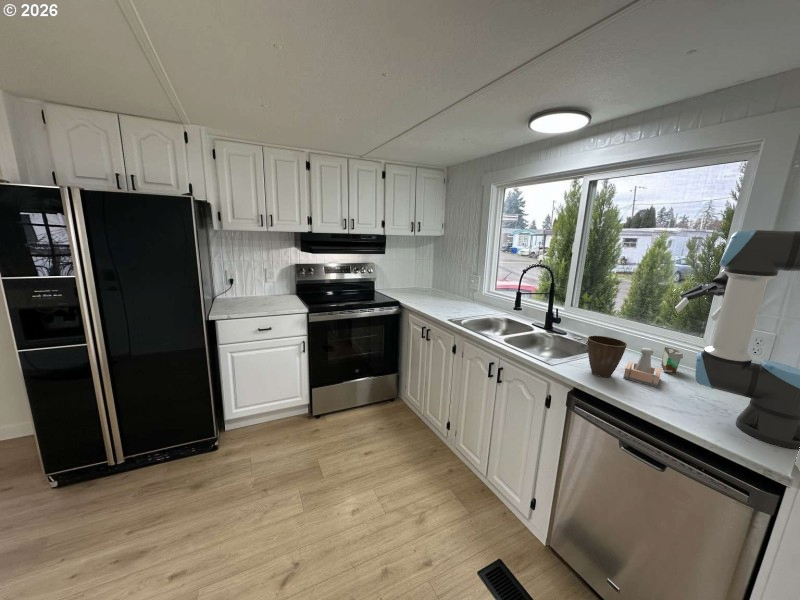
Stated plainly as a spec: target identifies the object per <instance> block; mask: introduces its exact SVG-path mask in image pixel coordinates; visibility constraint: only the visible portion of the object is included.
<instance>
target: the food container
mask: <svg viewBox="0 0 800 600" xmlns="http://www.w3.org/2000/svg"><path fill="white" fill-rule="evenodd" d="M662 355H663V356H662V360H661V364H660V366H662V367H661V369H662V368H663V369H662V371H663V370H664V371H663V373H664V374H669V373H675V374H676V373H677V370H678V368H679V365H680V362H681V360H682V359H684V355H683V352H682V351H680V350H678V349H676V348H672V347H669V346H665V347H664V349H663V354H662Z"/></svg>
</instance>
